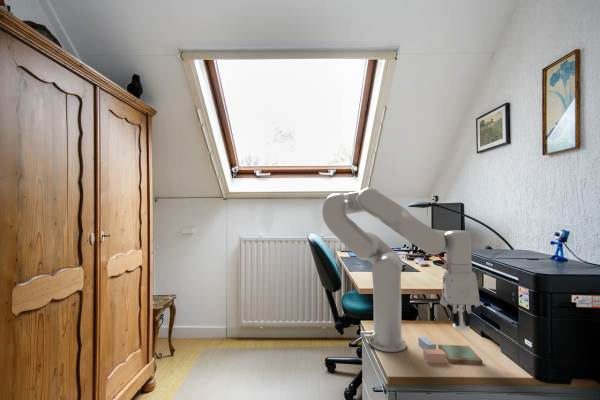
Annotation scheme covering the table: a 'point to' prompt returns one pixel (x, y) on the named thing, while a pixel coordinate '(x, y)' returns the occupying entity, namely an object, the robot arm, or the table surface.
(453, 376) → the table surface
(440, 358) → the terracotta brick
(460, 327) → the chess piece
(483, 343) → the table surface
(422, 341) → the slate-blue brick
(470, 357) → the green-topped square tray
